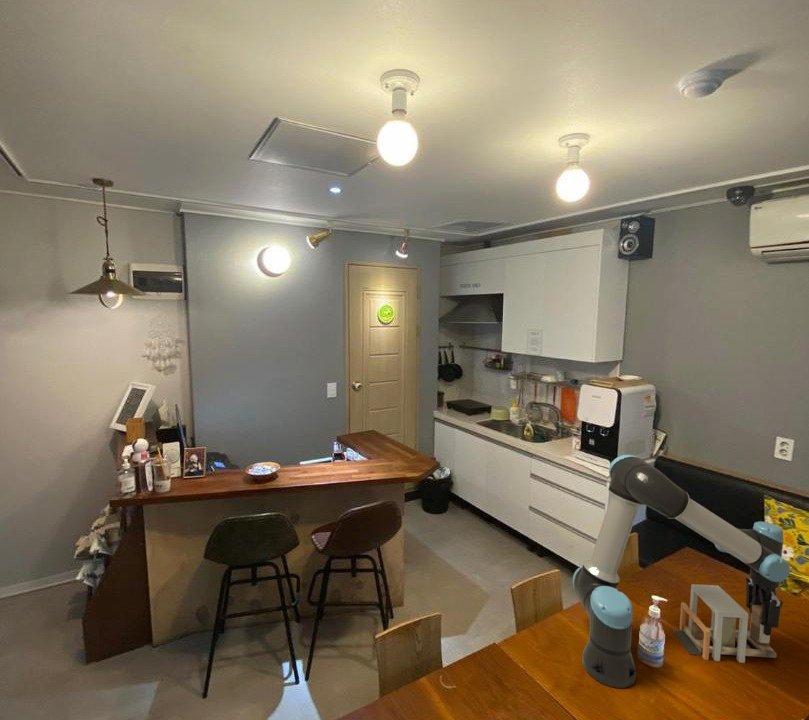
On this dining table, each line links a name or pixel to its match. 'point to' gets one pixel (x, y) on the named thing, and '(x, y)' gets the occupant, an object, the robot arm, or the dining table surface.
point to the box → (728, 631)
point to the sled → (736, 637)
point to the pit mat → (687, 643)
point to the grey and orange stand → (716, 618)
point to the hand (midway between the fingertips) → (759, 637)
